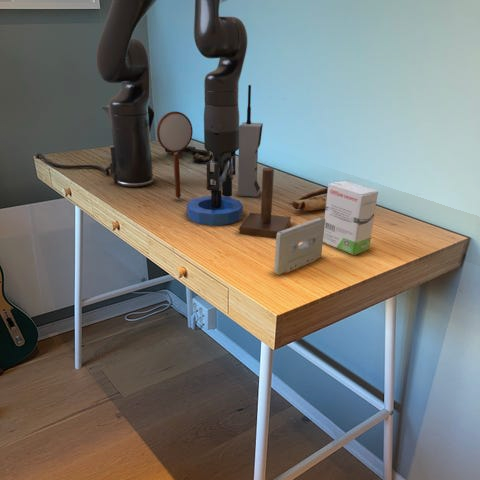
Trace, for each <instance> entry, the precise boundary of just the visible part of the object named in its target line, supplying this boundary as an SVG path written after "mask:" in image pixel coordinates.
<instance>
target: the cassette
mask: <svg viewBox="0 0 480 480" xmlns="http://www.w3.org/2000/svg"><path fill="white" fill-rule="evenodd" d="M324 228H325V217H322V216H320V217H317V218H315V219H314V218H313V219H311V220H309V221H306V222H302V223H300V224H298V225H294V226H292V227H288V228H287V229H286V230H283V231H280V232H278V233H277V235H276V238H275V251H274V252H275V254H274V255H275V256H274V269H273V270H274V271H273V272H274V274H276V275H277V276H278V275H279V276H280V275H282V274H284V273H285V274H287V273H289V272H292V271H294V270H296V269H299V268H301V267H305V266H306V265H308V264H311V263H313V262H316V261H317V259H320V258H321V256H322V252H323V245H324V242H323V236H324ZM300 243H301V244H300Z"/></svg>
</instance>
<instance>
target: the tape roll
mask: <svg viewBox="0 0 480 480" xmlns="http://www.w3.org/2000/svg"><path fill="white" fill-rule="evenodd" d="M243 208H244V205H243V203H242V202H241V201H240V200H239V199H236V198H233V197H232V196H230V197H226V196H223V195H222V206H221V207H220V208H213V207H212V206H211V195H204V196H199V197H196V198H192V199H190V200H189V201H188V202H187V203H186V215H187V217H188V219H189V221H192V222H193V223H196V224H197V225H203V226H211V227H214V226H227V225H231V224H234V223H237V222H239V221H240V220H241V219H242V217H243V216H244V215H243V214H244V209H243Z"/></svg>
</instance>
